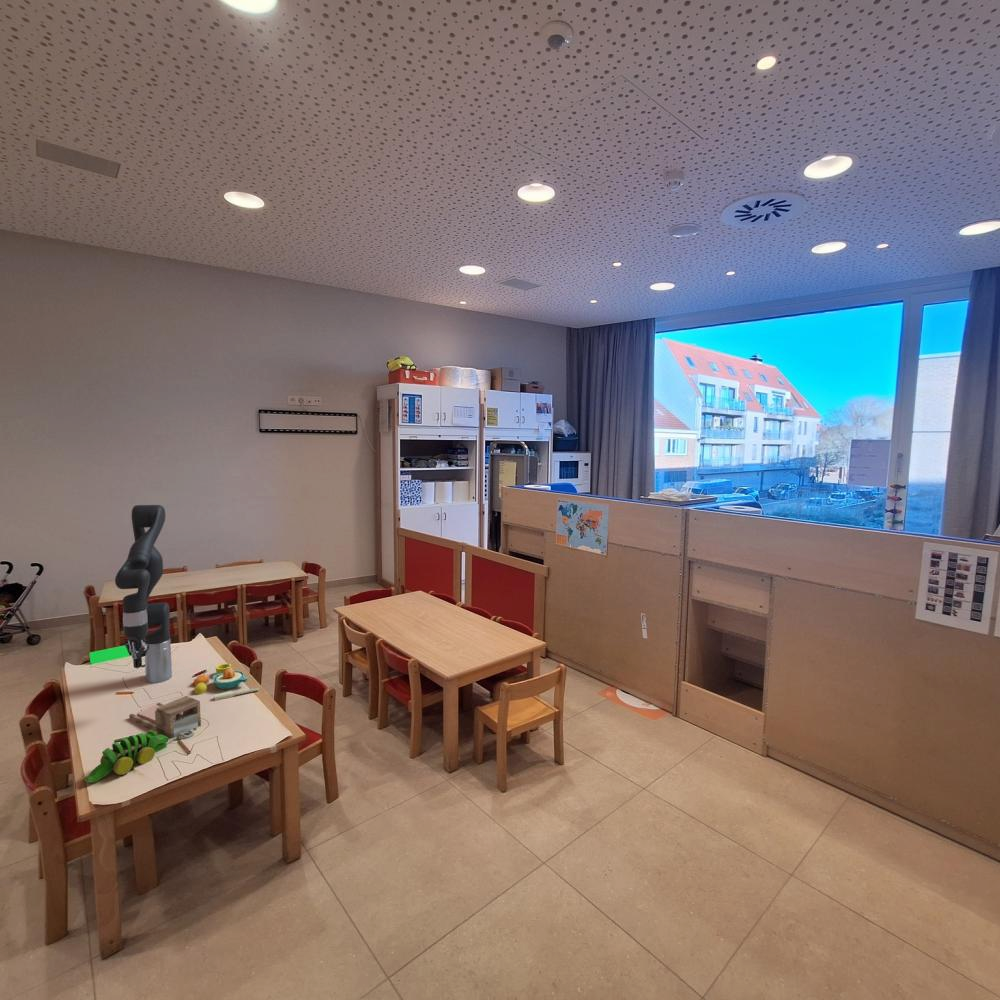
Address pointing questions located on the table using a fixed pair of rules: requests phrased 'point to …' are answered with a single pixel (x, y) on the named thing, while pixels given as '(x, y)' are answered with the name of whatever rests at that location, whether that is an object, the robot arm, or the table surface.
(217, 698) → the toy juicer set
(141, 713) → the pink flat slab
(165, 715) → the wooden crate
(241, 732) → the table surface
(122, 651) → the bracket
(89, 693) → the table surface
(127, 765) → the toy alligator
